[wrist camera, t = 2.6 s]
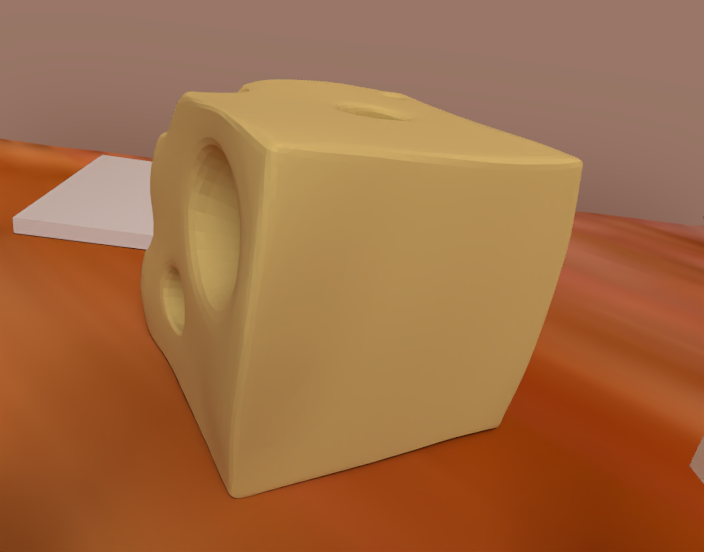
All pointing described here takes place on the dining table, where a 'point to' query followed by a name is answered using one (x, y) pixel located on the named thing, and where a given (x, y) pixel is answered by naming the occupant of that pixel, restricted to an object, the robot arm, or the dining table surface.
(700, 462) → the robot arm
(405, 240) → the cheese
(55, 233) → the mat
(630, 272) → the dining table surface
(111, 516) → the dining table surface
